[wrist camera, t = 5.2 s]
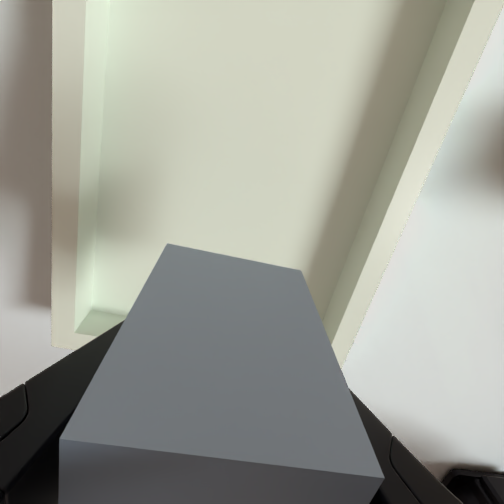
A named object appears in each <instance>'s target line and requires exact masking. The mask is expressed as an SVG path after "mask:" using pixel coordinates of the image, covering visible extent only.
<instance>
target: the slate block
mask: <svg viewBox="0 0 504 504" xmlns="http://www.w3.org/2000/svg"><path fill="white" fill-rule="evenodd" d="M384 479H385V478H384V475H383V473H382V470H381V468H380V465H379V463H378V460H377V458H376V455H375V453H374V450H373V448H372V445H371V443H370V440H369V438H368V435H367V433H366V430H365V428H364V425H363V423H362V420H361V418H360V415H359V413H358V410H357V408H356V405H355V403H354V401H353V398H352V396H351V393H350V391H349V388H348V386H347V383H346V381H345V378H344V376H343V373H342V371H341V368H340V366H339V363H338V361H337V358H336V356H335V353H334V351H333V348H332V346H331V343H330V341H329V338H328V336H327V333H326V331H325V328H324V326H323V323H322V321H321V318H320V316H319V313H318V311H317V309H316V306H315V304H314V301H313V299H312V296H311V294H310V291H309V289H308V286H307V284H306V281H305V279H304V276H303V274H302V271H301V270H296V269H292V268H287V267H282V266H277V265H272V264H267V263H262V262H257V261H252V260H247V259H242V258H237V257H233V256H228V255H223V254H218V253H213V252H208V251H203V250H198V249H193V248H188V247H183V246H178V245H174V244H169V243H167V244H166V246H165V248H164V250H163V252H162V253H161V255H160V257H159V259H158V261H157V263H156V264H155V266H154V268H153V270H152V272H151V273H150V275H149V277H148V279H147V281H146V282H145V284H144V286H143V288H142V290H141V292H140V293H139V295H138V297H137V299H136V301H135V302H134V304H133V306H132V308H131V310H130V312H129V313H128V315H127V317H126V319H125V321H124V322H123V324H122V326H121V328H120V330H119V332H118V333H117V335H116V337H115V339H114V341H113V342H112V344H111V346H110V348H109V350H108V352H107V353H106V355H105V357H104V359H103V361H102V362H101V364H100V366H99V368H98V370H97V371H96V373H95V375H94V377H93V379H92V381H91V382H90V384H89V386H88V388H87V390H86V391H85V393H84V395H83V397H82V399H81V401H80V402H79V404H78V406H77V408H76V410H75V411H74V413H73V415H72V417H71V419H70V421H69V422H68V424H67V426H66V428H65V430H64V431H63V433H62V435H61V437H60V439H59V498H58V504H369V503H370V501H371V500H372V498H373V497H374V495H375V493H376V492H377V490H378V488H379V487H380V485H381V484H382V482H383V480H384Z"/></svg>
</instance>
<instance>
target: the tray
mask: <svg viewBox="0 0 504 504" xmlns="http://www.w3.org/2000/svg"><path fill="white" fill-rule="evenodd" d="M503 6H504V0H52V276H51V346H52V347H59V348H65V349H71V350H77V349H79V348H80V347H82V346H84V345H85V344H87V343H88V342H90V341H91V340H93V339H95V338H96V337H98V336H99V335H101V334H103V333H104V332H106V331H107V330H109V329H111V328H112V327H114V326H115V325H117V324H119V323H120V322H122V321H123V320H125V319H126V317H127V315H128V313H129V312H130V310H131V308H132V306H133V304H134V302H135V301H136V299H137V297H138V295H139V293H140V292H141V290H142V288H143V286H144V284H145V282H146V281H147V279H148V277H149V275H150V273H151V272H152V270H153V268H154V266H155V264H156V263H157V261H158V259H159V257H160V255H161V253H162V252H163V250H164V248H165V246H166V244H167V243H169V244H174V245H178V246H183V247H188V248H193V249H198V250H203V251H208V252H213V253H218V254H223V255H228V256H233V257H237V258H242V259H247V260H252V261H257V262H262V263H267V264H272V265H277V266H282V267H287V268H292V269H296V270H301V271H302V274H303V276H304V279H305V281H306V284H307V286H308V289H309V291H310V294H311V296H312V299H313V301H314V304H315V306H316V309H317V311H318V313H319V316H320V318H321V321H322V323H323V326H324V328H325V331H326V333H327V336H328V338H329V341H330V343H331V346H332V348H333V351H334V353H335V356H336V358H337V361H338V363H339V366H340V368H342V366H343V364H344V362H345V359H346V357H347V355H348V353H349V350H350V348H351V346H352V344H353V342H354V339H355V337H356V335H357V333H358V330H359V328H360V326H361V324H362V321H363V319H364V317H365V315H366V312H367V310H368V308H369V306H370V303H371V301H372V299H373V297H374V295H375V292H376V290H377V288H378V286H379V283H380V281H381V279H382V277H383V274H384V272H385V270H386V268H387V265H388V263H389V261H390V259H391V256H392V254H393V252H394V250H395V247H396V245H397V243H398V241H399V239H400V236H401V234H402V232H403V230H404V227H405V225H406V223H407V221H408V218H409V216H410V214H411V212H412V209H413V207H414V205H415V203H416V200H417V198H418V196H419V194H420V192H421V189H422V187H423V185H424V183H425V180H426V178H427V176H428V174H429V171H430V169H431V167H432V165H433V162H434V160H435V158H436V156H437V153H438V151H439V149H440V147H441V144H442V142H443V140H444V138H445V136H446V133H447V131H448V129H449V127H450V124H451V122H452V120H453V118H454V115H455V113H456V111H457V109H458V106H459V104H460V102H461V100H462V97H463V95H464V93H465V91H466V89H467V86H468V84H469V82H470V80H471V77H472V75H473V73H474V71H475V68H476V66H477V64H478V62H479V59H480V57H481V55H482V53H483V50H484V48H485V46H486V44H487V41H488V39H489V37H490V35H491V33H492V30H493V28H494V26H495V24H496V21H497V19H498V17H499V15H500V12H501V10H502V8H503Z"/></svg>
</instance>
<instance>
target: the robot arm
mask: <svg viewBox="0 0 504 504" xmlns="http://www.w3.org/2000/svg"><path fill="white" fill-rule="evenodd" d="M124 321H125V320H123V321H122V322H120V323H119V324H117V325H115V326H114V327H112V328H111V329H109V330H107V331H106V332H104V333H103V334H101V335H99V336H98V337H96V338H95V339H93V340H91V341H90V342H88V343H87V344H85V345H84V346H82V347H80V348H79V349H77V350H76V351H74V352H72V353H71V354H69V355H68V356H66V357H64V358H63V359H61V360H60V361H58V362H56V363H55V364H53V365H52V366H50V367H48V368H47V369H45V370H44V371H42V372H40V373H39V374H37V375H36V376H34V377H32V378H31V379H29V380H28V381H26V382H25V384H21V385H19V386H18V387H16V388H15V389H13V390H11V391H10V392H8V393H7V394H5V395H3V396H2V397H0V504H58V498H59V439H60V437H61V435H62V433H63V431H64V430H65V428H66V426H67V424H68V422H69V421H70V419H71V417H72V415H73V413H74V411H75V410H76V408H77V406H78V404H79V402H80V401H81V399H82V397H83V395H84V393H85V391H86V390H87V388H88V386H89V384H90V382H91V381H92V379H93V377H94V375H95V373H96V371H97V370H98V368H99V366H100V364H101V362H102V361H103V359H104V357H105V355H106V353H107V352H108V350H109V348H110V346H111V344H112V342H113V341H114V339H115V337H116V335H117V333H118V332H119V330H120V328H121V326H122V324H123V322H124ZM349 391H350V393H351V396H352V398H353V401H354V403H355V405H356V408H357V410H358V413H359V415H360V418H361V420H362V423H363V425H364V428H365V430H366V433H367V435H368V438H369V440H370V443H371V445H372V448H373V450H374V453H375V455H376V458H377V460H378V463H379V465H380V468H381V470H382V473H383V475H384V478H385V479H384V480H383V482H382V484H381V485H380V487H379V488H378V490H377V492H376V493H375V495H374V497H373V498H372V500H371V501H370V503H369V504H504V475H500V474H492V473H484V472H476V471H468V470H460V469H455V470H452V471H450V472H449V474H448V475H447V476H446V478H445V479H444V480H443V482H442V483H441V482H440V481H439V480H438V479H437V478H435V477H434V476H433V475H432V474H431V473H430V472H429V471H428V470H427V469H426V468H425V467H424V466H423V465H422V464H421V463H420V462H419V461H418V460H417V459H416V458H415V457H414V456H413V455H412V454H411V453H410V452H409V451H408V450H407V449H406V448H405V447H404V446H403V445H402V444H401V442H400V441H399V440H398V439H397V438H396V437H395V436H392V433H391V432H390V431H389V430H388V429H387V428H386V427H385V426H384V425H383V424H382V423H381V422H380V421H379V420H378V418H377V417H376V416H375V415H374V414H373V413H372V412H371V411H370V410H369V409H368V408H367V407H366V406H365V405H364V404H363V403H362V402H361V401H360V400H359V399H358V397H357V396H356V395H355V394H354V393H353V392H352V391H351V390H350V389H349Z"/></svg>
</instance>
